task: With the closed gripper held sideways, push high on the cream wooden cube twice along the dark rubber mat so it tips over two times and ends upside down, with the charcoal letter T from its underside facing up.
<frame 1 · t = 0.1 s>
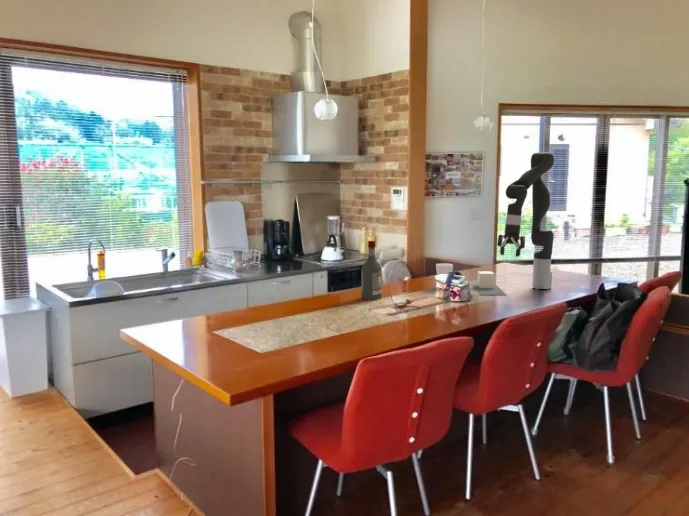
hand: (509, 255, 299), 22 cm above the counter, tool pointing down, fingers open, 8 cm apart
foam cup: (444, 287, 333), on the counter
rubber mat: (488, 290, 324), on the counter
letter cube: (485, 286, 331), resting on rubber mat
liquor: (371, 298, 305), on the counter
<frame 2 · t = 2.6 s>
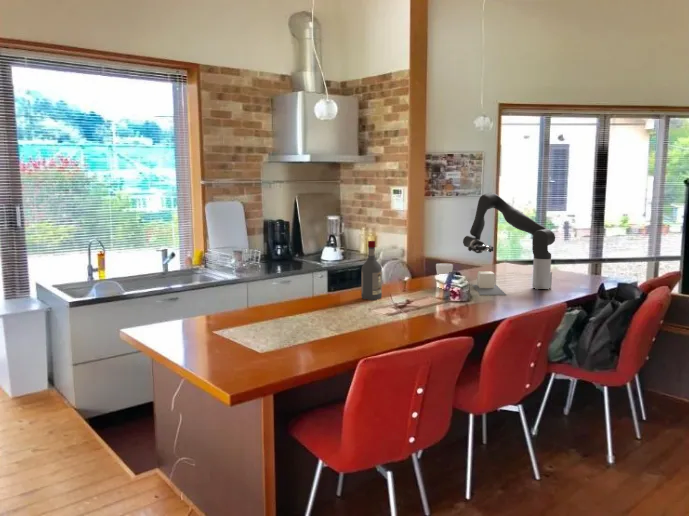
hand: (483, 250, 337), 20 cm above the counter, tool horizontal, fingers open, 8 cm apart
nothing on the counter moved.
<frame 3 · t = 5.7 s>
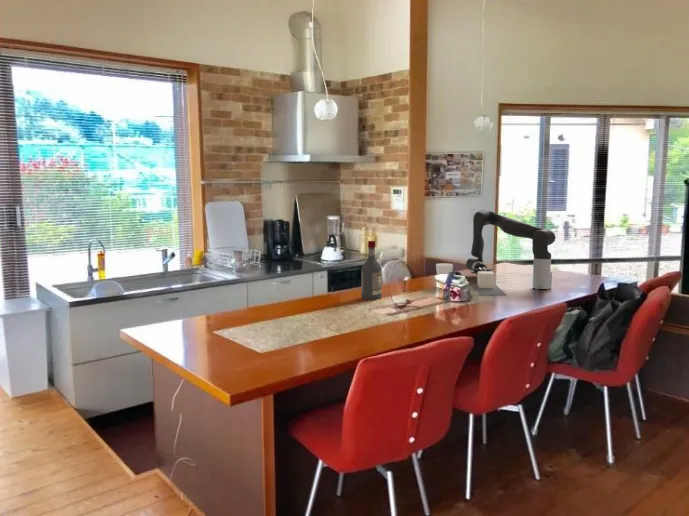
hand: (484, 273, 334), 8 cm above the counter, tool horizontal, fingers closed
letter cube: (485, 286, 331), point 1 cm above the counter, touching gripper, rubber mat
everything else where it was.
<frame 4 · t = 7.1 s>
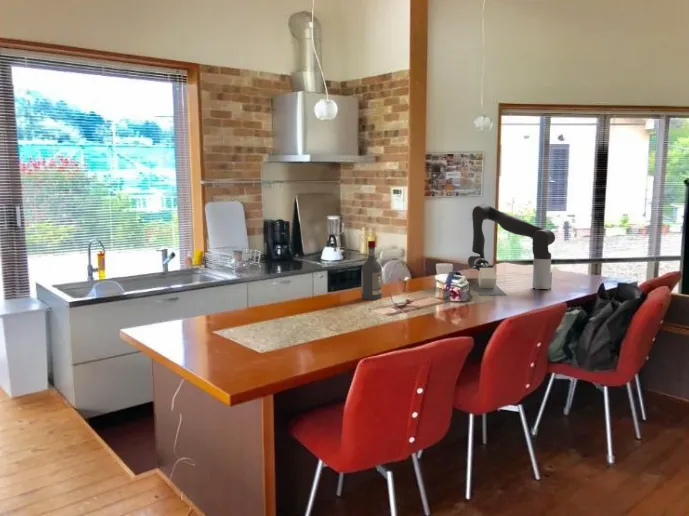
hand: (486, 268, 328), 11 cm above the counter, tool horizontal, fingers closed
letter cube: (486, 282, 330), point 3 cm above the counter, tilted 38°, touching gripper, rubber mat
everything else where it was.
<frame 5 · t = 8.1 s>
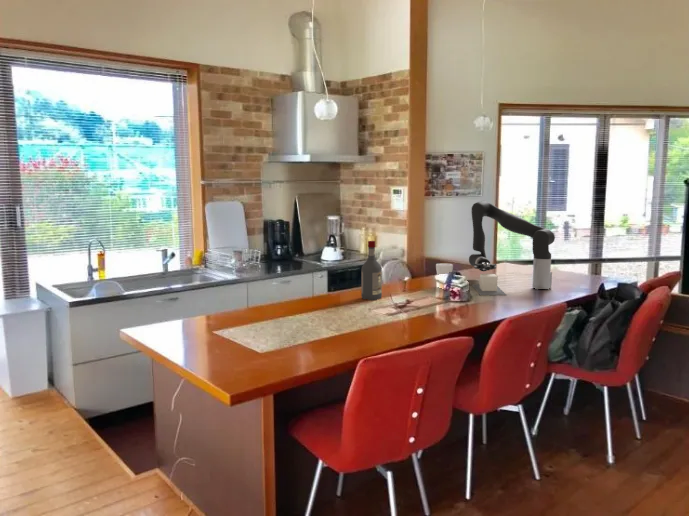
hand: (488, 268, 324), 12 cm above the counter, tool horizontal, fingers closed
letter cube: (487, 281, 327), point 4 cm above the counter, tilted 90°, touching rubber mat
everything else where it was.
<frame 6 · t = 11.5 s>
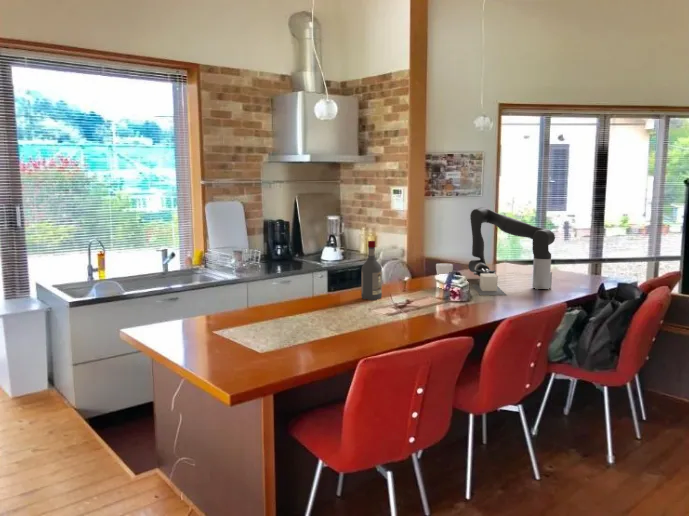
hand: (487, 274, 326), 8 cm above the counter, tool horizontal, fingers closed
letter cube: (487, 280, 327), point 5 cm above the counter, tilted 92°, touching gripper, rubber mat
everything else where it was.
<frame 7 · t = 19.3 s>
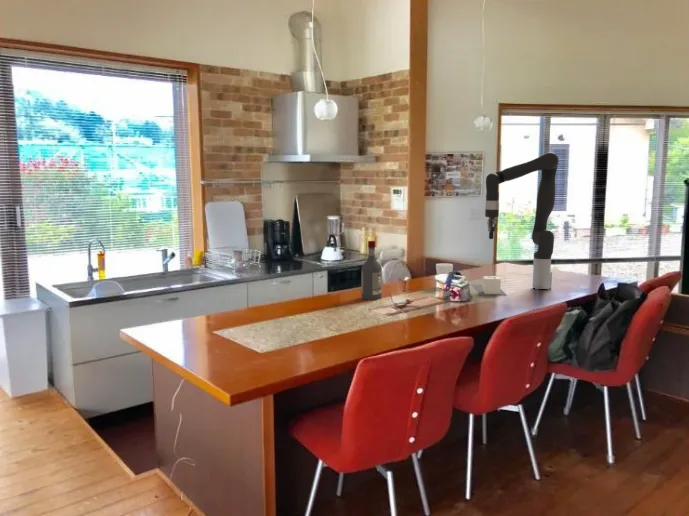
hand: (491, 238, 335), 27 cm above the counter, tool pointing down, fingers closed
letter cube: (491, 277, 314), point 9 cm above the counter, tilted 180°, touching rubber mat
everything else where it was.
at the end: letter cube tilted 180°; letter cube inside the target area (0.4 cm from its centre), point 8.6 cm above the counter; the gripper is holding nothing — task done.
